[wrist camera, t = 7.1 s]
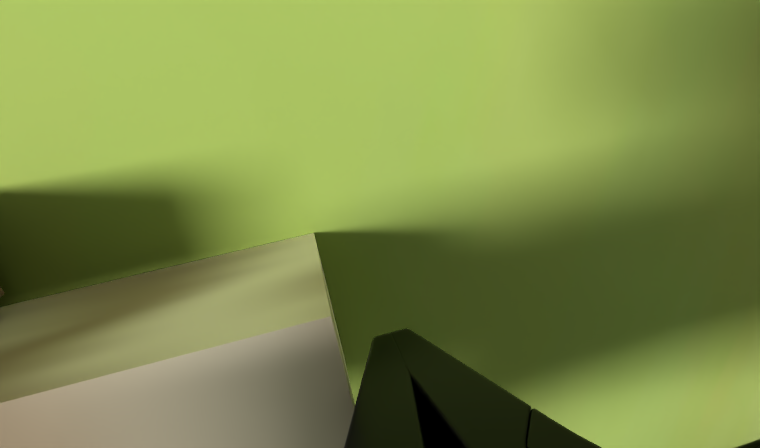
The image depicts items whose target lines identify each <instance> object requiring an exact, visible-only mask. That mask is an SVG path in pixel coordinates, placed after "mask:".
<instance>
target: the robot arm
mask: <svg viewBox="0 0 760 448" xmlns="http://www.w3.org/2000/svg"><path fill="white" fill-rule="evenodd" d="M344 448H601V447H599V446H597V445H596V444H594V443H592V442H590V441H588V440H586V439H584V438H582V437H581V436H579V435H577V434H575V433H574V432H572V431H570V430H569V429H567V428H565V427H564V426H562V425H560V424H559V423H557V422H555V421H554V420H552V419H550V418H549V417H547V416H546V415H544V414H543V413H541V412H539V411H538V410H536V409H532V408H531V406H530V405H528V404H526V403H525V402H523V401H522V400H520V399H519V398H517V397H515V396H514V395H512V394H511V393H509V392H508V391H506V390H504V389H503V388H501V387H500V386H498V385H496V384H495V383H493V382H492V381H490V380H489V379H487V378H485V377H484V376H482V375H481V374H479V373H478V372H476V371H474V370H473V369H471V368H470V367H468V366H467V365H465V364H463V363H462V362H460V361H459V360H457V359H456V358H454V357H452V356H451V355H449V354H448V353H446V352H444V351H443V350H441V349H440V348H438V347H437V346H435V345H433V344H432V343H430V342H429V341H427V340H426V339H424V338H422V337H421V336H419V335H418V334H416V333H415V332H413V331H411V330H410V329H407V328H406V329H402V330H398V331H395V332H391V333H387V334H384V335H380V336H376V337H374V338H373V341H372V344H371V348H370V352H369V355H368V359H367V363H366V367H365V370H364V374H363V378H362V382H361V386H360V389H359V393H358V397H357V401H356V404H355V408H354V412H353V416H352V419H351V423H350V427H349V431H348V434H347V438H346V442H345V446H344ZM756 448H760V446H759V447H756Z"/></svg>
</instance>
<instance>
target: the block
mask: <svg viewBox="0 0 760 448" xmlns="http://www.w3.org/2000/svg"><path fill="white" fill-rule="evenodd" d="M354 408H355V403H354V398H353V394H352V389H351V385H350V380H349V376H348V371H347V367H346V362H345V358H344V354H343V349H342V345H341V341H340V337H339V333H338V329H337V325H336V321H335V317H334V313H333V309H332V304H331V300H330V296H329V292H328V288H327V284H326V280H325V276H324V272H323V268H322V264H321V259H320V255H319V251H318V247H317V243H316V239H315V235H314V233H311V234H307V235H302V236H298V237H294V238H290V239H286V240H281V241H277V242H273V243H269V244H264V245H260V246H256V247H252V248H248V249H243V250H239V251H235V252H231V253H226V254H222V255H218V256H214V257H210V258H205V259H201V260H197V261H193V262H188V263H184V264H180V265H176V266H171V267H167V268H163V269H159V270H155V271H150V272H146V273H142V274H138V275H133V276H129V277H125V278H121V279H117V280H112V281H108V282H104V283H100V284H95V285H91V286H87V287H83V288H79V289H74V290H70V291H66V292H62V293H57V294H53V295H49V296H45V297H41V298H36V299H32V300H28V301H24V302H19V303H15V304H11V305H7V306H3V307H0V448H344V446H345V442H346V438H347V434H348V431H349V427H350V423H351V419H352V416H353V412H354Z"/></svg>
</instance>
